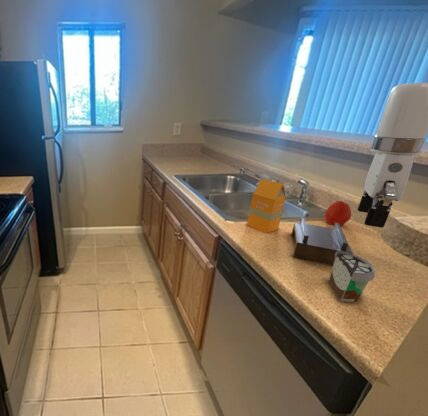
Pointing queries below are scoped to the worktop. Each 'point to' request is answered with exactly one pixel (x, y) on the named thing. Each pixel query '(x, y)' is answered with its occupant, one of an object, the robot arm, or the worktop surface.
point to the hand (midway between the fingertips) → (369, 218)
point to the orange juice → (267, 206)
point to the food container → (350, 276)
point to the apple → (338, 213)
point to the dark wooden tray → (319, 242)
